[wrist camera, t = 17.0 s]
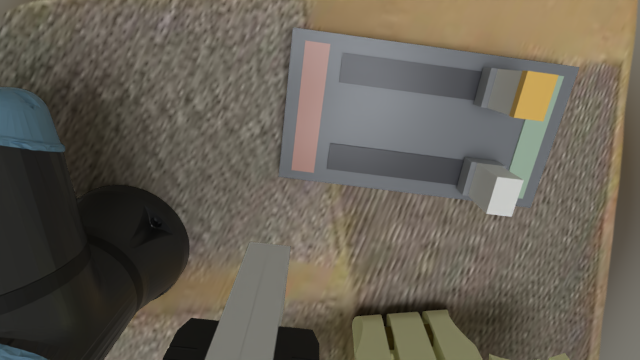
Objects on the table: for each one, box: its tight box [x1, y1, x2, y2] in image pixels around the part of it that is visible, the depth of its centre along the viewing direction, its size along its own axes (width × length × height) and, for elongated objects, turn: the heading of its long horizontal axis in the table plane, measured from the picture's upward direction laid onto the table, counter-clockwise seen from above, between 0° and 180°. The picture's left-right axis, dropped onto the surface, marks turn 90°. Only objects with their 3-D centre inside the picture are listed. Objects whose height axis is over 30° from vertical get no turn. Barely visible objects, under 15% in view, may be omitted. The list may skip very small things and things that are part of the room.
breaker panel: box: [279, 28, 579, 217], centre depth 36 cm, size 28×15×10 cm, turn 83°
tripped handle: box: [474, 67, 559, 121], centre depth 32 cm, size 4×4×7 cm
